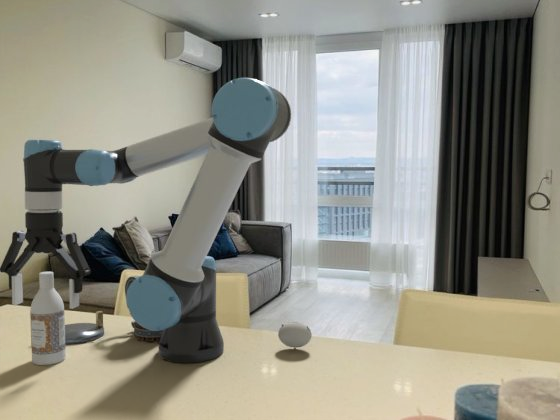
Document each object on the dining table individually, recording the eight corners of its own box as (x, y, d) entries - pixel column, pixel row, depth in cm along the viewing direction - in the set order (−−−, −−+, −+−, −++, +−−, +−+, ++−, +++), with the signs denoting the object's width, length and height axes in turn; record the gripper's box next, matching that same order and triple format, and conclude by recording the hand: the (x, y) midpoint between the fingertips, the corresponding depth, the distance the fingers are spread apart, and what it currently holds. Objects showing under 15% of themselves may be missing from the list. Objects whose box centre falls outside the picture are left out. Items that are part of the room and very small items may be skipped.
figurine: (312, 346, 129) (313, 319, 128) (310, 355, 123) (310, 327, 122) (280, 344, 130) (280, 317, 129) (276, 352, 124) (276, 325, 123)
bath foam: (24, 363, 116) (21, 274, 115) (47, 353, 123) (44, 268, 121) (50, 367, 114) (47, 276, 113) (72, 356, 121) (69, 270, 119)
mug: (184, 334, 138) (184, 277, 136) (154, 345, 129) (154, 285, 127) (142, 324, 146) (141, 270, 145) (111, 334, 137) (110, 277, 136)
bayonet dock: (113, 328, 142) (113, 309, 141) (87, 346, 128) (87, 325, 128) (64, 326, 144) (64, 307, 143) (34, 343, 130) (33, 322, 129)
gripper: (105, 210, 118) (106, 304, 120) (2, 207, 121) (5, 298, 123) (89, 214, 110) (90, 313, 112) (-20, 210, 114) (-17, 306, 116)
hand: (45, 305), depth 118 cm, fingers open, 13 cm apart
